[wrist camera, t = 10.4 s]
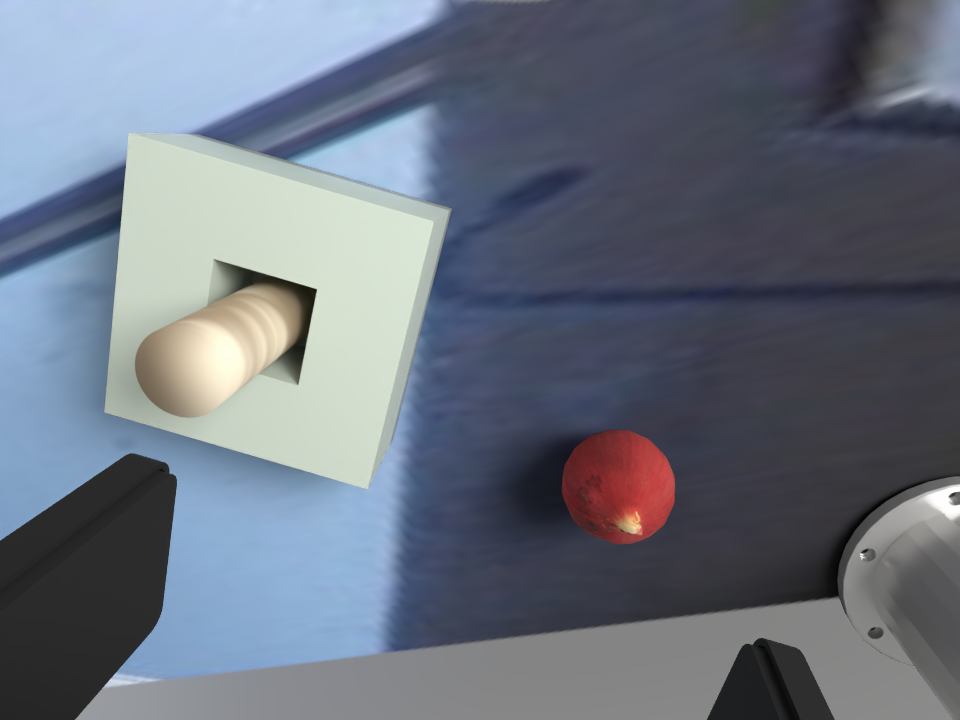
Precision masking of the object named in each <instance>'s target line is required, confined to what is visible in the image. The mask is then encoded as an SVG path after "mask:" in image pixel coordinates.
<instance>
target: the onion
mask: <svg viewBox="0 0 960 720" xmlns="http://www.w3.org/2000/svg"><path fill="white" fill-rule="evenodd" d="M562 495H563V498H564V500H565V503H566V505H567V507H568V510H569V512H570V514H571V517H572V519H573V520H574V521H575V523H576V524H577V525H578V526H580V527H581V528H583V529H584V530H585V531H587V532H588V533H589V534H591V535H592V536H594V537H597V538H601V539H603V540H606V541H609V542H611V543H614V544H629V543H635V542H637V541H640V540H643V539H645V538H648V537H649V536H651V535H652V534H653V533H655V532H656V531H657V530H658V529H660V528H661V527H662V526H663V525H664V524H665V522H666V520H667V518H668V516H669V514H670V511H671V509H672V507H673V505H674V498H675V477H674V475H673V472H672V470H671V467H670V465H669V462H668V460H667V458H666V457H665V455H664V454H663V453H662V452H661V451H660V450H659V449H658V448H657V447H656V446H655V445H654V444H653V443H652V442H651V441H650V440H649V439H647V438H645V437H643V436H640V435H638V434H636V433H634V432H632V431H629V430H607V431H604V432H601V433H598V434H595V435H592V436H589V437H588V438H587V439H585V440H584V441H583V442H582V443H580V444H579V445H578V446H576V447H575V448H574V450H573V452H572V453H571V455H570V457H569V458H568V460H567V462H566V464H565V467H564V471H563V481H562Z"/></svg>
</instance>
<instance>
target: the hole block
mask: <svg viewBox="0 0 960 720" xmlns="http://www.w3.org/2000/svg"><path fill="white" fill-rule="evenodd" d="M451 210H452V208H448V207H445V206H441V205H438V204H435V203H431V202H428V201H424V200H421V199H417V198H414V197H411V196H407V195H404V194H400V193H397V192H393V191H390V190H387V189H383V188H380V187H376V186H373V185H369V184H366V183H363V182H359V181H356V180H352V179H349V178H345V177H342V176H339V175H335V174H332V173H328V172H325V171H321V170H318V169H315V168H311V167H308V166H304V165H301V164H297V163H294V162H291V161H287V160H284V159H280V158H277V157H273V156H270V155H267V154H263V153H260V152H256V151H253V150H249V149H246V148H243V147H239V146H236V145H232V144H229V143H225V142H222V141H218V140H215V139H212V138H208V137H205V136H201V135H198V134H167V133H129V139H128V150H127V161H126V173H125V184H124V195H123V207H122V218H121V229H120V241H119V252H118V263H117V275H116V286H115V297H114V309H113V320H112V331H111V343H110V354H109V365H108V377H107V388H106V399H105V411H104V413H108V414H111V415H115V416H118V417H122V418H125V419H128V420H132V421H135V422H139V423H142V424H146V425H149V426H152V427H156V428H159V429H163V430H166V431H170V432H173V433H176V434H180V435H183V436H187V437H190V438H194V439H197V440H201V441H204V442H207V443H211V444H214V445H218V446H221V447H225V448H228V449H231V450H235V451H238V452H242V453H245V454H249V455H252V456H255V457H259V458H262V459H266V460H269V461H273V462H276V463H279V464H283V465H286V466H290V467H293V468H297V469H300V470H303V471H307V472H310V473H314V474H317V475H321V476H324V477H327V478H331V479H334V480H338V481H341V482H345V483H348V484H351V485H355V486H358V487H362V488H365V489H368V488H369V486H370V484H371V482H372V480H373V478H374V476H375V474H376V472H377V470H378V468H379V466H380V464H381V462H382V460H383V458H384V456H385V454H386V452H387V450H388V448H389V446H390V444H391V442H392V440H393V437H394V433H395V430H396V426H397V422H398V418H399V414H400V410H401V406H402V402H403V398H404V394H405V390H406V386H407V382H408V379H409V375H410V371H411V367H412V363H413V359H414V355H415V351H416V347H417V343H418V339H419V335H420V331H421V328H422V324H423V320H424V316H425V312H426V308H427V304H428V300H429V296H430V292H431V288H432V284H433V280H434V277H435V273H436V269H437V265H438V261H439V257H440V253H441V249H442V245H443V241H444V237H445V233H446V230H447V226H448V222H449V218H450V214H451ZM270 275H271V276H274V277H277V278H281V279H284V280H288V281H291V282H295V283H298V284H301V285H305V286H308V287H312V288H315V289H317V293H316V298H315V303H314V308H313V313H312V318H311V323H310V328H309V333H308V334H307V335H306V336H305V337H303V338H302V339H301V340H300V341H298V342H297V343H296V344H295V345H294V346H292V347H291V348H290V349H289V350H287V351H286V352H285V353H284V354H282V355H281V356H280V357H279V358H277V359H276V360H275V361H274V362H273V363H271V364H270V365H269V366H268V367H266V368H265V369H264V370H263V371H261V372H260V373H259V374H258V375H256V376H255V377H254V378H253V379H252V380H250V381H249V382H248V383H247V384H245V385H244V386H243V387H242V388H240V389H239V390H238V391H237V392H235V393H234V394H233V395H232V396H231V397H229V398H228V399H227V400H226V401H224V402H223V403H222V404H221V405H219V406H218V407H217V408H216V409H214V410H213V411H212V412H210V413H208V414H206V415H204V416H200V417H195V418H184V417H178V416H175V415H172V414H169V413H167V412H165V411H163V410H162V409H160V408H158V407H157V406H156V405H155V404H153V403H152V402H151V401H150V400H149V398H148V397H147V396H146V395H145V393H144V392H143V390H142V389H141V387H140V385H139V383H138V380H137V377H136V372H135V357H136V353H137V350H138V348H139V346H140V344H141V343H142V341H143V340H144V339H145V338H146V337H147V336H148V335H150V334H151V333H153V332H155V331H157V330H159V329H161V328H163V327H165V326H167V325H169V324H171V323H173V322H175V321H177V320H179V319H181V318H183V317H186V316H188V315H190V314H192V313H194V312H196V311H198V310H200V309H202V308H204V307H206V306H208V305H210V304H212V303H214V302H217V301H219V300H221V299H223V298H225V297H227V296H229V295H231V294H233V293H235V292H237V291H239V290H241V289H243V288H245V287H248V286H250V285H252V284H254V283H256V282H258V281H260V280H262V279H264V278H266V277H268V276H270Z"/></svg>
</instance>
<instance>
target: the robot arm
mask: <svg viewBox="0 0 960 720" xmlns="http://www.w3.org/2000/svg"><path fill="white" fill-rule="evenodd" d="M176 487H177V479H176V476H175V475H173V474H169V467H168V465H167V464H166V463H165V462H161V461H158V460H154V459H151V458H147V457H144V456H141V455H137V454H128V455H126V456H124V457H123V458H121V459H120V460H118V461H117V462H115V463H114V464H112V465H111V466H109V467H108V468H106V469H105V470H103V471H102V472H101V473H99V474H98V475H96V476H95V477H93V478H92V479H90V480H89V481H87V482H86V483H84V484H83V485H81V486H80V487H78V488H77V489H76V490H74V491H73V492H71V493H70V494H68V495H67V496H65V497H64V498H62V499H61V500H59V501H58V502H56V503H55V504H53V505H52V506H51V507H49V508H48V509H46V510H45V511H43V512H42V513H40V514H39V515H37V516H36V517H34V518H33V519H31V520H30V521H29V522H27V523H26V524H24V525H23V526H21V527H20V528H18V529H17V530H15V531H14V532H12V533H11V534H9V535H8V536H6V537H5V538H4V539H2V540H1V541H0V720H75V719H76V718H77V717H78V716H79V714H80V713H81V712H82V711H83V710H84V708H85V707H86V706H87V705H88V704H89V703H90V702H91V701H92V699H93V698H94V697H95V696H96V695H97V694H98V693H99V691H100V690H101V689H102V688H103V687H104V686H105V684H106V683H107V682H108V681H109V680H110V679H111V678H112V676H113V675H114V674H115V673H116V672H117V671H118V670H119V668H120V667H121V666H122V665H123V664H124V663H125V661H126V660H127V659H128V658H129V657H130V656H131V655H132V653H133V652H134V651H135V650H136V649H137V648H138V647H139V645H140V644H141V643H142V642H143V641H144V640H145V638H146V637H147V636H148V635H149V634H150V633H151V631H152V630H153V629H154V627H155V625H156V624H157V622H158V620H159V618H160V615H161V612H162V607H163V600H164V591H165V582H166V574H167V565H168V556H169V548H170V539H171V530H172V522H173V513H174V504H175V496H176ZM837 583H838V592H839V598H840V600H841V603H842V606H843V609H844V611H845V613H846V615H847V616H848V618H849V620H850V621H851V623H852V625H853V626H854V628H855V629H856V631H857V632H858V633H859V634H860V636H861V637H862V638H863V639H864V640H865V641H866V642H867V643H868V644H870V645H871V646H872V647H874V648H875V649H876V650H878V651H879V652H880V653H882V654H884V655H886V656H888V657H890V658H892V659H894V660H896V661H899V662H902V663H905V664H909V665H913V666H915V667H916V669H917V670H918V672H919V673H920V675H921V676H922V677H923V679H924V680H925V682H926V683H927V684H928V686H929V687H930V688H931V690H932V691H933V693H934V694H935V696H936V697H937V698H938V700H939V701H940V703H941V704H942V706H943V707H944V708H945V710H946V711H947V713H948V714H949V715H950V717H951V718H952V719H953V720H960V476H958V477H949V478H944V479H939V480H934V481H929V482H926V483H924V484H921V485H918V486H916V487H913V488H910V489H908V490H906V491H904V492H902V493H900V494H898V495H897V496H895V497H893V498H891V499H889V500H887V501H886V502H885V503H883V504H882V505H881V506H880V507H878V508H877V509H876V510H875V511H873V512H872V513H871V514H869V516H868V517H867V518H866V519H865V520H864V521H863V522H862V523H861V524H860V526H859V527H858V528H857V529H856V530H855V532H854V533H853V535H852V537H851V538H850V540H849V541H848V543H847V545H846V546H845V549H844V552H843V555H842V557H841V560H840V563H839V570H838V578H837ZM707 720H834V717H833V715H832V714H831V711H830V709H829V707H828V705H827V703H826V701H825V699H824V697H823V695H822V693H821V690H820V688H819V686H818V684H817V682H816V680H815V678H814V676H813V674H812V672H811V670H810V668H809V666H808V663H807V661H806V659H805V657H804V655H803V654H802V652H801V651H800V650H799V649H797V648H795V647H791V646H788V645H784V644H781V643H777V642H774V641H771V640H767V639H764V638H759V639H758V640H756V641H755V642H754V644H753V645H750V644H745V645H744V646H742V648H741V650H740V651H739V653H738V655H737V658H736V660H735V662H734V664H733V666H732V668H731V670H730V672H729V674H728V677H727V679H726V681H725V683H724V685H723V687H722V689H721V691H720V693H719V695H718V698H717V700H716V702H715V704H714V706H713V708H712V710H711V712H710V715H709V717H708V719H707Z"/></svg>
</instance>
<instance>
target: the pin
mask: <svg viewBox="0 0 960 720" xmlns="http://www.w3.org/2000/svg"><path fill="white" fill-rule="evenodd" d="M316 293H317V289H315V288H312V287H308V286H305V285H301V284H298V283H295V282H291V281H288V280H284V279H281V278H277V277H274V276H271V275H270V276H268V277H266V278H264V279H262V280H260V281H258V282H256V283H254V284H252V285H250V286H248V287H245V288H243V289H241V290H239V291H237V292H235V293H233V294H231V295H229V296H227V297H225V298H223V299H221V300H219V301H217V302H214V303H212V304H210V305H208V306H206V307H204V308H202V309H200V310H198V311H196V312H194V313H192V314H190V315H188V316H186V317H183V318H181V319H179V320H177V321H175V322H173V323H171V324H169V325H167V326H165V327H163V328H161V329H159V330H157V331H155V332H153V333H151V334H150V335H148V336H147V337H146V338H145V339H144V340H143V341H142V343H141V344H140V346H139V348H138V350H137V353H136V357H135V372H136V377H137V380H138V383H139V385H140V387H141V389H142V390H143V392H144V393H145V395H146V396H147V397H148V398H149V400H150V401H151V402H152V403H153V404H155V405H156V406H157V407H158V408H160V409H162V410H163V411H165V412H167V413H169V414H172V415H175V416H178V417H184V418H195V417H200V416H204V415H206V414H208V413H210V412H212V411H213V410H214V409H216V408H217V407H218V406H219V405H221V404H222V403H223V402H224V401H226V400H227V399H228V398H229V397H231V396H232V395H233V394H234V393H235V392H237V391H238V390H239V389H240V388H242V387H243V386H244V385H245V384H247V383H248V382H249V381H250V380H252V379H253V378H254V377H255V376H256V375H258V374H259V373H260V372H261V371H263V370H264V369H265V368H266V367H268V366H269V365H270V364H271V363H273V362H274V361H275V360H276V359H277V358H279V357H280V356H281V355H282V354H284V353H285V352H286V351H287V350H289V349H290V348H291V347H292V346H294V345H295V344H296V343H297V342H298V341H300V340H301V339H302V338H303V337H305V336H306V335H307V334H308V333H309V328H310V323H311V318H312V313H313V308H314V303H315V298H316Z"/></svg>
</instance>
